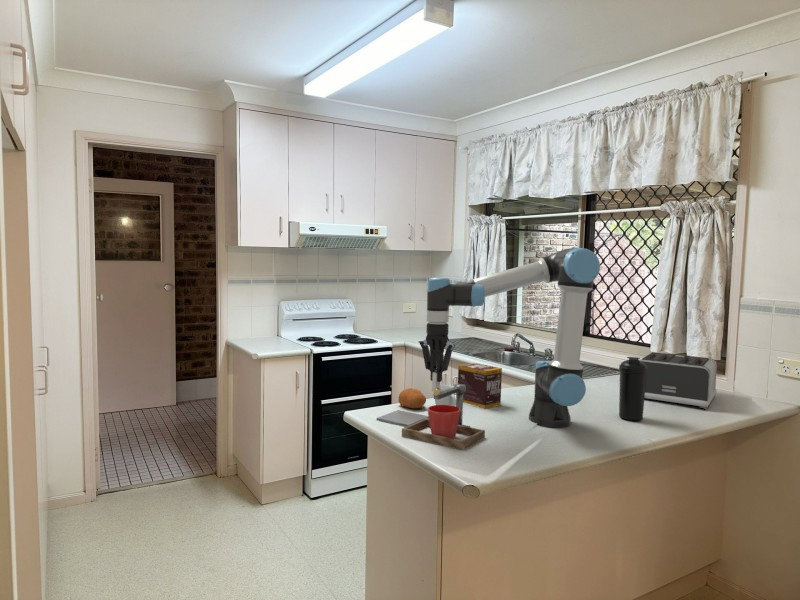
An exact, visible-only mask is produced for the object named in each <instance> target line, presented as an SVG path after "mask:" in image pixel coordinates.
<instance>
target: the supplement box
mask: <svg viewBox="0 0 800 600" xmlns="http://www.w3.org/2000/svg"><path fill="white" fill-rule="evenodd" d="M502 373H503V368H502V367H497V366H492V365H488V364H482V363H477V362H472V363H465V364H459V365H458V369H457V384H463V385H466V391H465V392H463V404H464V403H465V404H468V405H471V406H475V407H477V408H479V409H480V408H481V409H483V410H485V409H490V408H493V407H498V406H501V404H502V380H503V379H502V378H503V377H502V375H503V374H502Z"/></svg>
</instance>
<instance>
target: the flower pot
mask: <svg viewBox="0 0 800 600" xmlns="http://www.w3.org/2000/svg"><path fill="white" fill-rule="evenodd" d="M427 414H428V415H427V416H429V423H430V427H429V428H430V434H434V435H438V436H443V437H447V438H452V439H456V434H457V433H456V431H457V426H458V421H459V416H460V408H459V407H456V406H452V405H436V404H434V405H429V407H427Z"/></svg>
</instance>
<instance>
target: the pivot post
mask: <svg viewBox="0 0 800 600" xmlns="http://www.w3.org/2000/svg"><path fill="white" fill-rule="evenodd" d="M455 395H456V396H455V398H456V407H459V408H460V416H459V421H458V425H461V426H466V427H471V425H466V424H463V408H464V406H463V405H464V402H463V392H457V393H455Z"/></svg>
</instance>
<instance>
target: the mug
mask: <svg viewBox="0 0 800 600" xmlns="http://www.w3.org/2000/svg"><path fill="white" fill-rule="evenodd" d="M453 387H454V385H449V384H440V388H441V392H442V391H445V390H448V389H450V388H453ZM455 395H456V393H454V394H452V395H449V396H447V397H444V398H442V399H439V400H437V399H434V401H435V403H434V404H435V405H452V406H456V396H455Z"/></svg>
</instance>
